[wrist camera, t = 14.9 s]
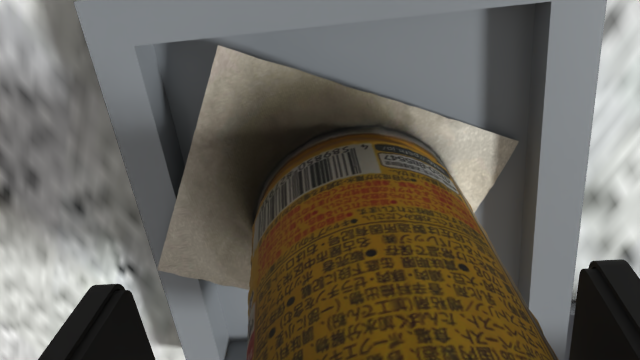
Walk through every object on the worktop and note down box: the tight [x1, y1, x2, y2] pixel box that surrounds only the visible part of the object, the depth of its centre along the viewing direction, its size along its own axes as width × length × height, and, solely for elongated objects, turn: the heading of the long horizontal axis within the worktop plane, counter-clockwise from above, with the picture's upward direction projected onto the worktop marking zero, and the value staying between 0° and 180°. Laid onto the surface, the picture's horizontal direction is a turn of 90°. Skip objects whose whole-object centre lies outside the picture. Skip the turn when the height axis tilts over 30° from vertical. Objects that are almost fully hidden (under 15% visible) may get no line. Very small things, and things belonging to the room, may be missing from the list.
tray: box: [74, 0, 607, 360], centre depth 16 cm, size 13×12×2 cm
